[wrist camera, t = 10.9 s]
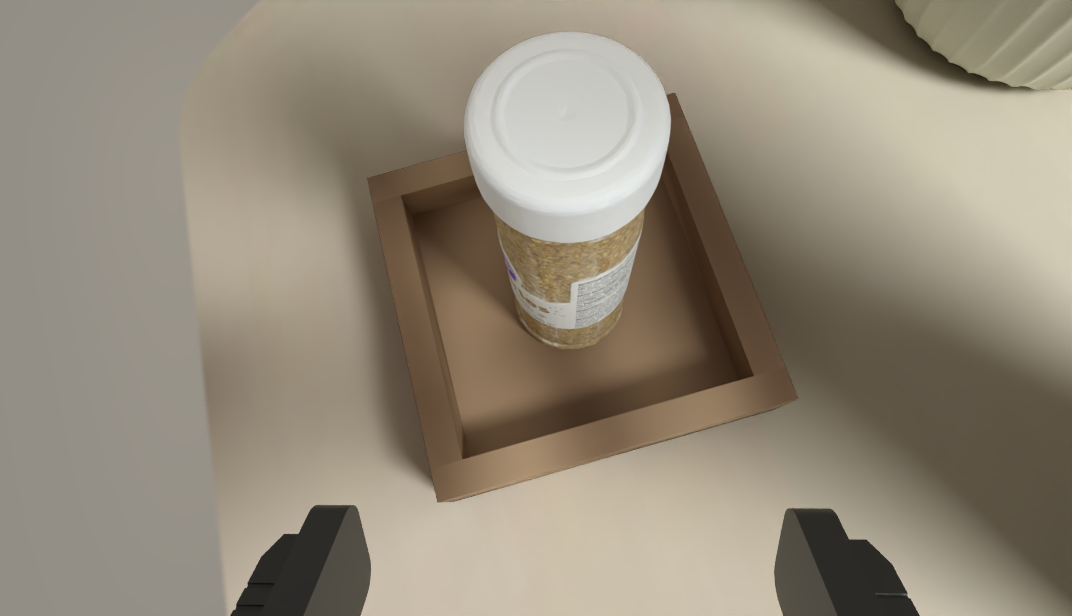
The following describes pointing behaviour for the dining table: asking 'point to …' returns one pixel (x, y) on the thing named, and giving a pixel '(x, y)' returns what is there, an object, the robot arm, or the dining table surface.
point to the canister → (1000, 38)
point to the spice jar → (568, 175)
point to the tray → (569, 374)
